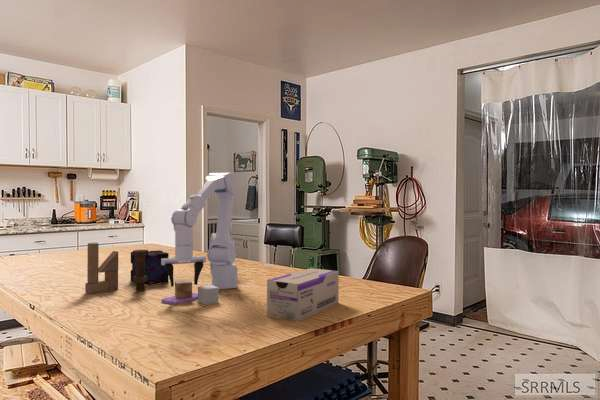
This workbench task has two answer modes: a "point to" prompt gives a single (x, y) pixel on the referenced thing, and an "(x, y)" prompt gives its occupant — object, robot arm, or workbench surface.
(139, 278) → the bolt
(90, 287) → the wooden block
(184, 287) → the brown boxy piece
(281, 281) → the surgical sutures box
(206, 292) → the grey block
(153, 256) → the energy cube
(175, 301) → the sponges
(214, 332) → the workbench surface
